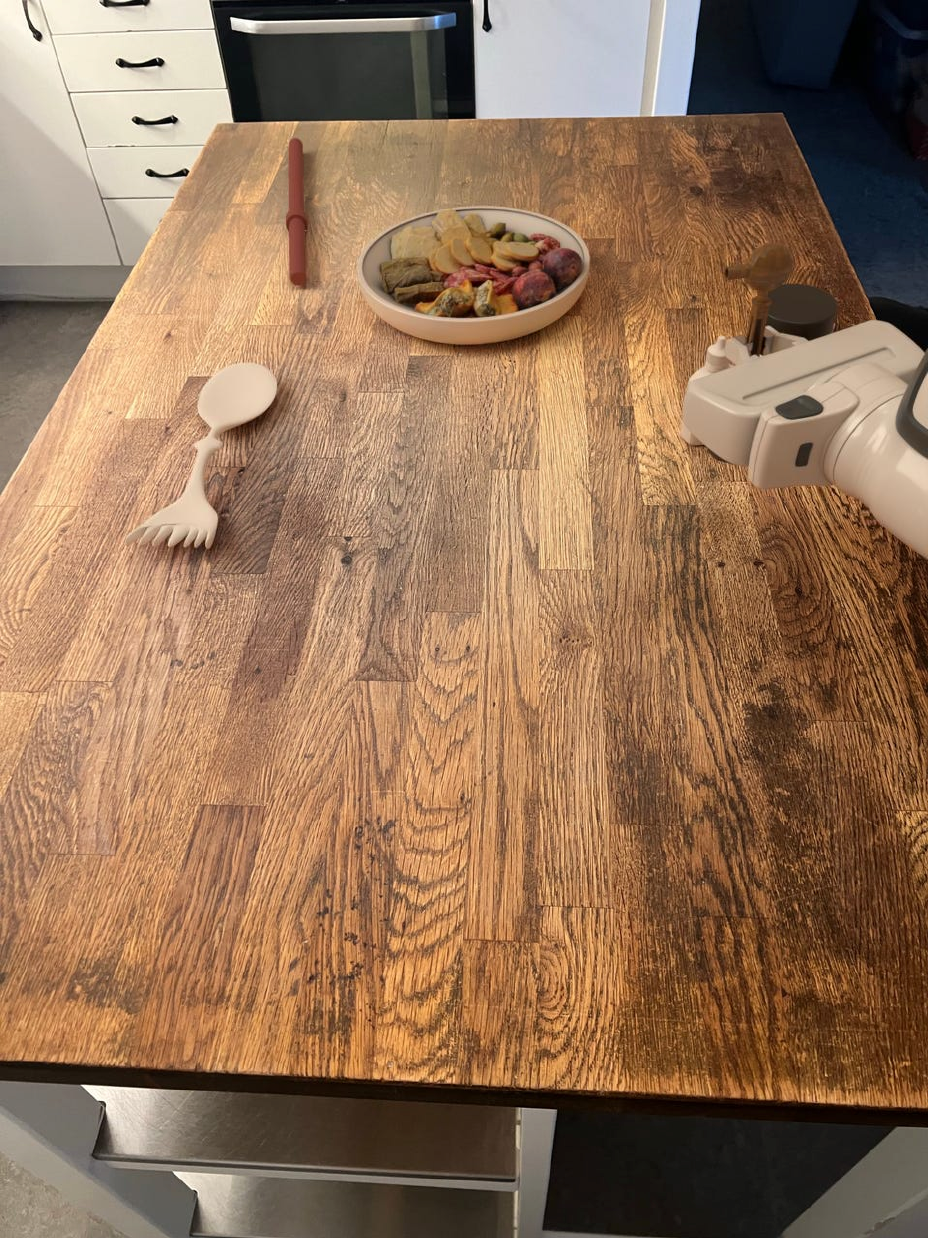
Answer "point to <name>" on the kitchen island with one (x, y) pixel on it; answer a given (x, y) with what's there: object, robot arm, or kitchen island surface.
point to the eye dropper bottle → (712, 365)
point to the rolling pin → (296, 214)
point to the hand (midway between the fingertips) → (745, 339)
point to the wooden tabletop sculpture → (761, 289)
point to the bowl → (473, 274)
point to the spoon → (210, 453)
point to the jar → (802, 311)
